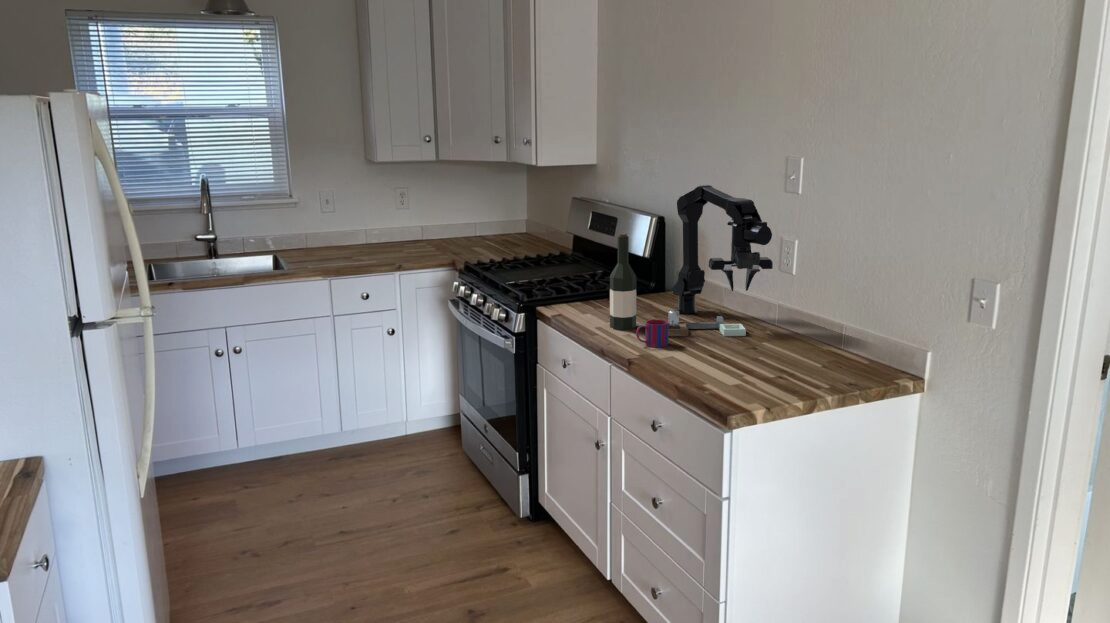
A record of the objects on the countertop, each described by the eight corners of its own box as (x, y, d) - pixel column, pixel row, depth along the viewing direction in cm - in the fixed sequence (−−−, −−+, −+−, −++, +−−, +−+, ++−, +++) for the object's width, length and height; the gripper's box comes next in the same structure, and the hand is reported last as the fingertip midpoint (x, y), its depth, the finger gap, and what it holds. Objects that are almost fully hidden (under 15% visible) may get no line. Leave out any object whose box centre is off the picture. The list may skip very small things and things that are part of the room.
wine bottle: (636, 323, 265) (636, 231, 258) (636, 330, 257) (636, 235, 250) (610, 323, 265) (610, 232, 258) (609, 330, 257) (609, 235, 250)
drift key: (685, 327, 259) (685, 316, 258) (721, 326, 258) (721, 316, 258) (686, 329, 256) (686, 318, 255) (723, 328, 256) (723, 318, 255)
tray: (719, 330, 254) (719, 324, 254) (740, 330, 254) (741, 323, 254) (723, 336, 248) (723, 329, 248) (745, 335, 248) (745, 329, 247)
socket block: (657, 327, 260) (657, 321, 259) (683, 326, 260) (683, 320, 259) (661, 336, 249) (661, 330, 249) (688, 336, 249) (688, 329, 249)
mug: (671, 346, 239) (672, 323, 237) (639, 349, 236) (639, 326, 235) (663, 340, 245) (663, 318, 243) (631, 343, 242) (631, 321, 241)
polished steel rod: (667, 332, 254) (667, 310, 252) (677, 331, 254) (678, 310, 252) (668, 334, 251) (669, 312, 249) (679, 334, 251) (679, 312, 249)
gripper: (715, 245, 243) (713, 296, 246) (778, 244, 242) (775, 295, 246) (708, 240, 254) (707, 289, 257) (769, 239, 253) (767, 288, 257)
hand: (739, 290), depth 254 cm, fingers open, 4 cm apart
